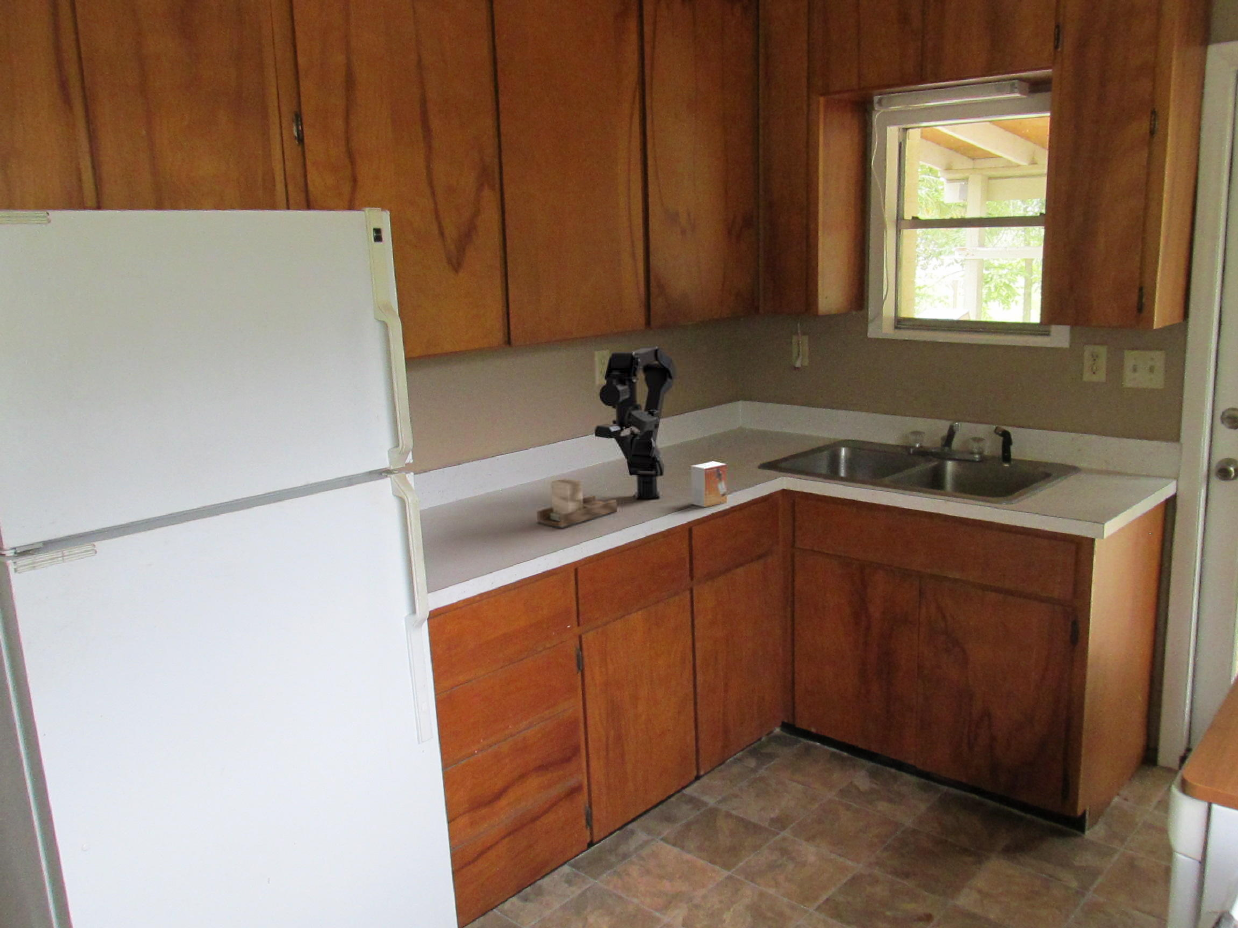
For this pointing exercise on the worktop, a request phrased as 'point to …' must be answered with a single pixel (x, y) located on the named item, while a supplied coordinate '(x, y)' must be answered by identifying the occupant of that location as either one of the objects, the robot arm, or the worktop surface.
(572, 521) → the track
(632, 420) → the robot arm
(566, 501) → the block
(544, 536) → the worktop surface
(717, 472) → the small box
